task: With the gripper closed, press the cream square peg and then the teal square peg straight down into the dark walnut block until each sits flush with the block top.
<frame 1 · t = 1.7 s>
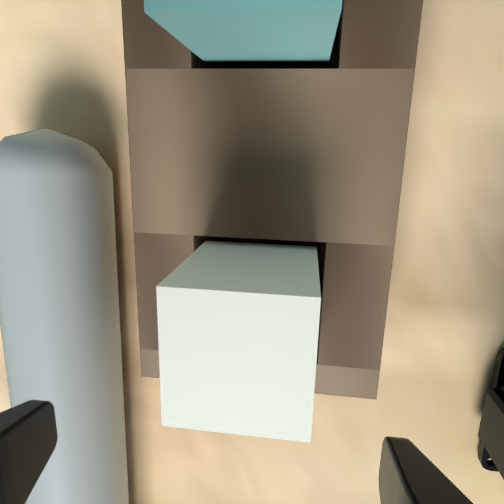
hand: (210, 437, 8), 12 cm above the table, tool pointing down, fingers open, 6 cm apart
walnut block: (273, 155, 18), on the table
peg cream: (249, 324, 13), point 7 cm above the table, slide at 0.0 cm
tube: (94, 363, 23), on the table
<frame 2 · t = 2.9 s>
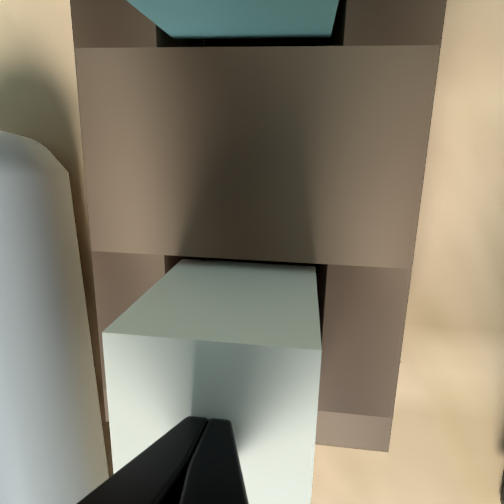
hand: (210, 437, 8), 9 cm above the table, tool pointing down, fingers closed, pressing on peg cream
walnut block: (264, 155, 15), on the table
peg cream: (232, 367, 10), point 7 cm above the table, slide at 0.2 cm, touching gripper
tube: (70, 392, 20), on the table
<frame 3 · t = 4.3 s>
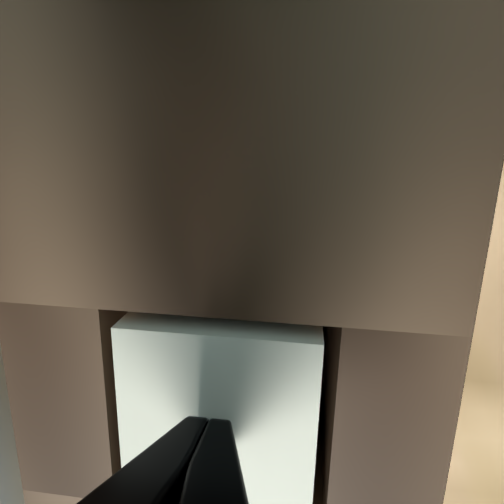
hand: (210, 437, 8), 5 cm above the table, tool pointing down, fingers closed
walnut block: (253, 159, 12), on the table
peg cream: (235, 363, 10), point 3 cm above the table, slide at 4.4 cm
tube: (27, 451, 16), on the table
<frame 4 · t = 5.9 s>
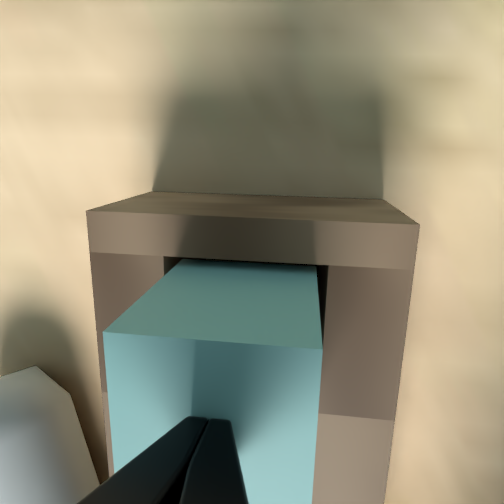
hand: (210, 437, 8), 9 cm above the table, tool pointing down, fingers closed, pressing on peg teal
walnut block: (258, 388, 18), on the table
peg teal: (232, 366, 10), point 7 cm above the table, slide at 0.4 cm, touching gripper
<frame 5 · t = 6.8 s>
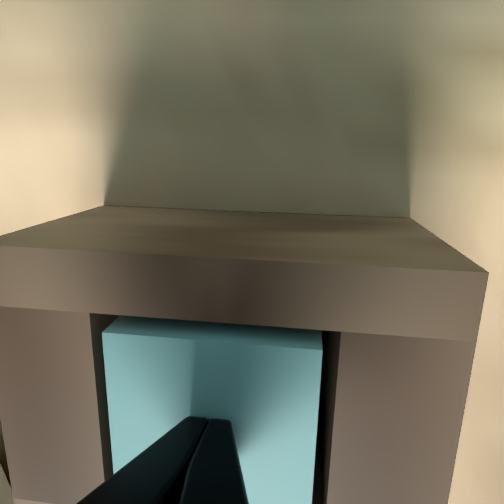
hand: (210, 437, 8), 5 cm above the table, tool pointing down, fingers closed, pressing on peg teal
walnut block: (245, 456, 14), on the table
peg teal: (232, 367, 10), point 3 cm above the table, slide at 4.4 cm, touching gripper
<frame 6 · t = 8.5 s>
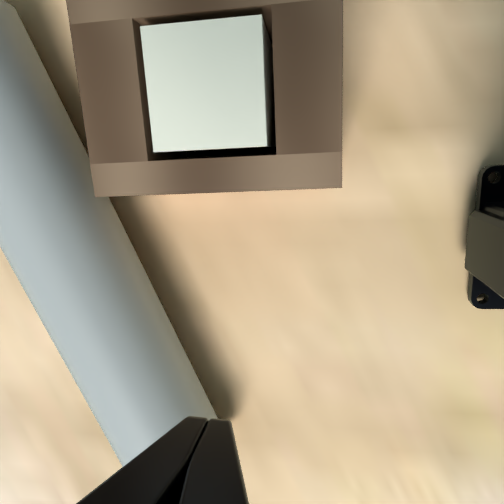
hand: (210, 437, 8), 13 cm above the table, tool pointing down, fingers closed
peg cream: (219, 96, 16), point 3 cm above the table, slide at 4.4 cm
tube: (100, 242, 21), on the table
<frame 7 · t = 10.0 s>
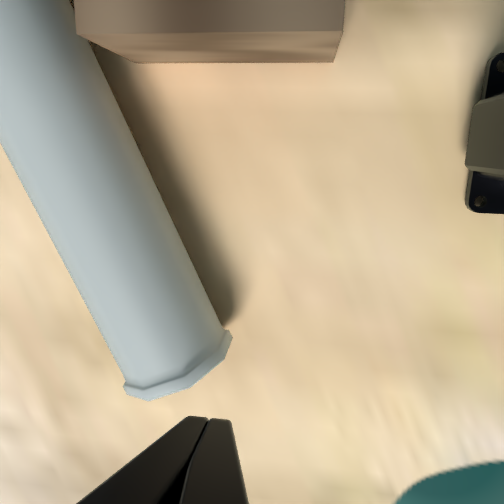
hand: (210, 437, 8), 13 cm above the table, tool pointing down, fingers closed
tube: (90, 126, 20), on the table
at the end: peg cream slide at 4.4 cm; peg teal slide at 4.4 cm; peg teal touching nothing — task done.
